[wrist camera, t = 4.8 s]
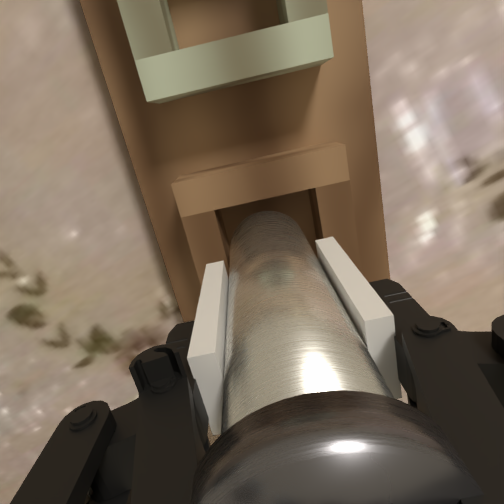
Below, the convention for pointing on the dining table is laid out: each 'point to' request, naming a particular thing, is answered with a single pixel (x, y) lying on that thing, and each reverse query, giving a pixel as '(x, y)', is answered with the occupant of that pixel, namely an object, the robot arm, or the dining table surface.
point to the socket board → (244, 123)
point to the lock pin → (311, 394)
